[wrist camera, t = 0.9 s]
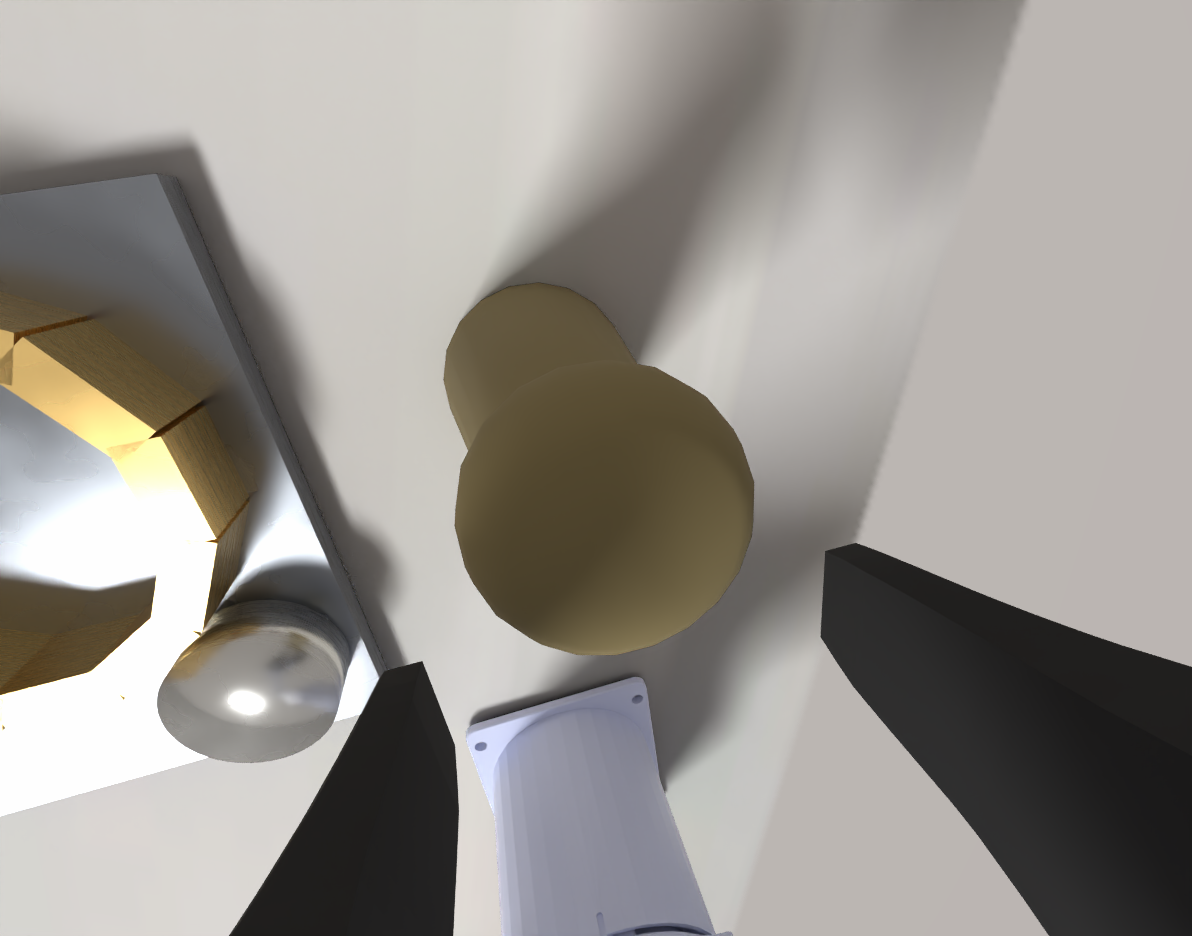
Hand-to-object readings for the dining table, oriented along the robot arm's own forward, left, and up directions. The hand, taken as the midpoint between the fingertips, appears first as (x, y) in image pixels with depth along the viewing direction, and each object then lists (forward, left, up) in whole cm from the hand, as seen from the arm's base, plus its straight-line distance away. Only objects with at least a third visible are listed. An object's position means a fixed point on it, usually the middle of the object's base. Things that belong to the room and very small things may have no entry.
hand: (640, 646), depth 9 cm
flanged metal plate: (0, +15, -11) cm, 18 cm away
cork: (+2, 0, -11) cm, 11 cm away
